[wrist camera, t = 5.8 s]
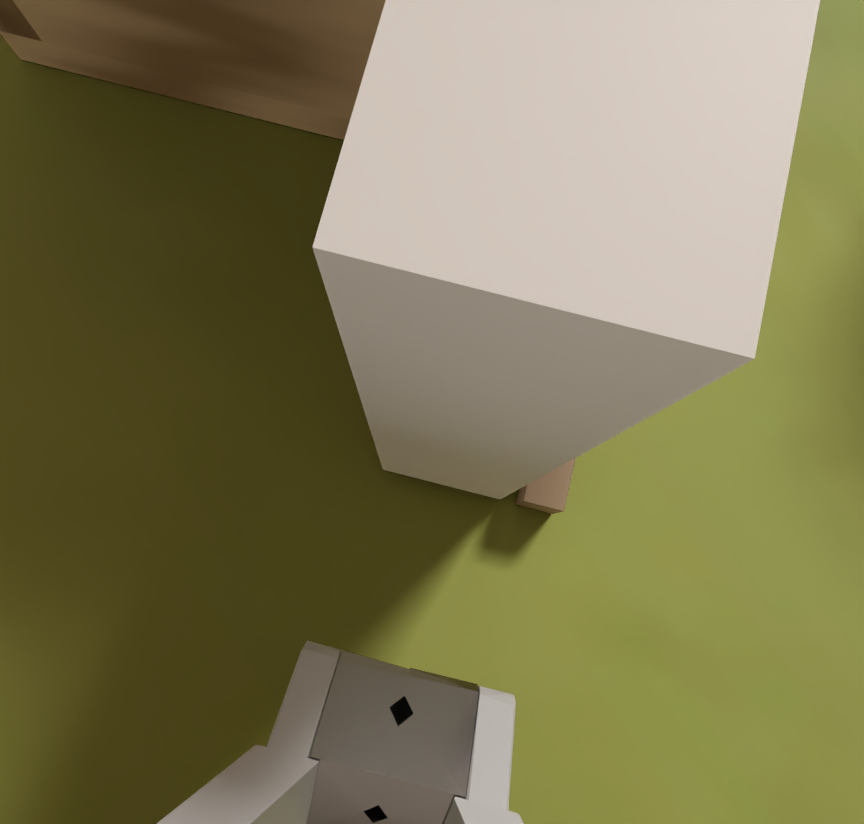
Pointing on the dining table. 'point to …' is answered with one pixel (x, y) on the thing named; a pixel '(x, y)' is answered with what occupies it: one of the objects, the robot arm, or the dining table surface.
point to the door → (555, 220)
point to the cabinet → (227, 72)
